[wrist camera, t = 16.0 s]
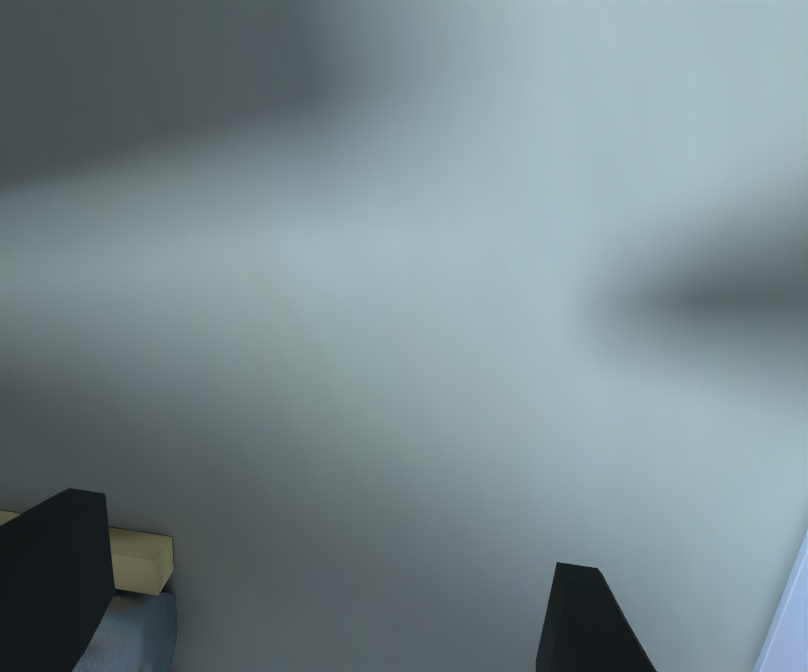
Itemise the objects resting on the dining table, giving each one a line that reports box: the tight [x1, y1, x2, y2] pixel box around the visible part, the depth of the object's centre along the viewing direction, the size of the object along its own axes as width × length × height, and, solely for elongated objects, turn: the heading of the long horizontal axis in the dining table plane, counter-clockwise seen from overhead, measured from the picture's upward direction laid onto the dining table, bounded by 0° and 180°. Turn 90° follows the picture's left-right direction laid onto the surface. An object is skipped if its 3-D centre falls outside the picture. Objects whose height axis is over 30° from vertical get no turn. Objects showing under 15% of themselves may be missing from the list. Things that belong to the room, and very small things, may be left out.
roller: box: [72, 589, 177, 672], centre depth 24 cm, size 8×4×4 cm, turn 85°
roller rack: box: [0, 510, 174, 595], centre depth 25 cm, size 8×8×1 cm
